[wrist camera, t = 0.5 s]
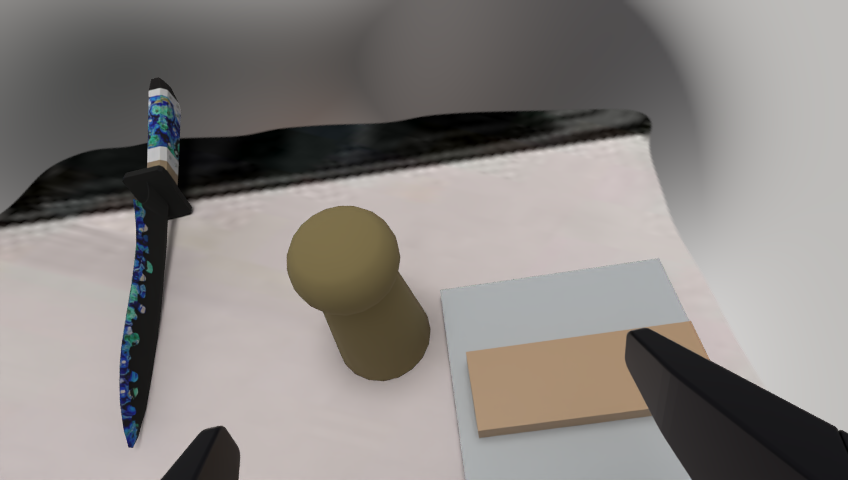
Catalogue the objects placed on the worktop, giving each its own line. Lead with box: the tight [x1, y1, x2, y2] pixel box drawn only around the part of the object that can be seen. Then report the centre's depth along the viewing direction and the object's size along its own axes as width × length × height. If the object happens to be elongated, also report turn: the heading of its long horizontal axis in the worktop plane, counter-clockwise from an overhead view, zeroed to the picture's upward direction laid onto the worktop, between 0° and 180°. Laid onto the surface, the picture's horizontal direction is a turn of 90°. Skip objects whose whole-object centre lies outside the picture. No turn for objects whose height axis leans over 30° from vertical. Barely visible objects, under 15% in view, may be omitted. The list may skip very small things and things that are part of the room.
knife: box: [120, 78, 192, 448], centre depth 33 cm, size 31×3×4 cm, turn 8°
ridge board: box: [440, 258, 710, 480], centre depth 23 cm, size 14×14×3 cm
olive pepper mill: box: [287, 206, 430, 381], centre depth 23 cm, size 6×6×11 cm
